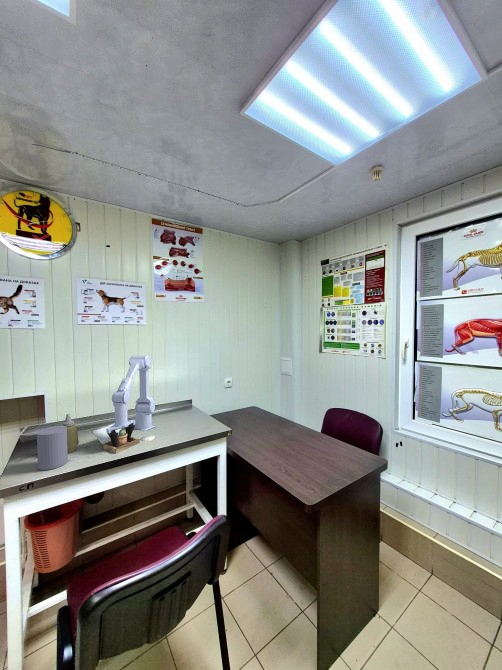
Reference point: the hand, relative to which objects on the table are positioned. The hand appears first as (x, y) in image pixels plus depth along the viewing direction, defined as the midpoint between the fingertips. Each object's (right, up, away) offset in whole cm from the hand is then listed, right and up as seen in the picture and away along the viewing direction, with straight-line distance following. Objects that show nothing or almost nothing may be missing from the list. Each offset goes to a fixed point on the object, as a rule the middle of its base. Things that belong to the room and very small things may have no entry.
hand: (121, 442), depth 131 cm
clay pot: (0, -2, 0) cm, 2 cm away
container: (-21, -3, -17) cm, 27 cm away
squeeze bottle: (-23, -3, -5) cm, 23 cm away
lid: (-8, +3, +4) cm, 10 cm away
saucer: (+9, -2, +9) cm, 13 cm away
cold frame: (-1, -2, +1) cm, 3 cm away
